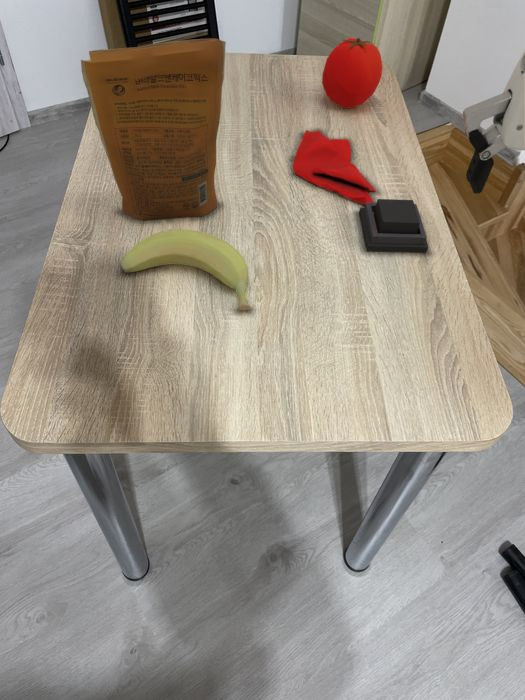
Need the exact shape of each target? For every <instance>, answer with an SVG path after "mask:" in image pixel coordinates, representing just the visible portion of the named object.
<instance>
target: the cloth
mask: <svg viewBox="0 0 525 700" xmlns="http://www.w3.org/2000/svg"><path fill="white" fill-rule="evenodd" d="M351 158H352V149H351V145H350V141H349V139H342V138H332V139H330V138H329V137H328V136H324V134H323V133H322V132H321V131H320V130H316V131H310V130H307V129H306V130H305V132H304V134H303V137H302V139H301V141H300V143H299V145H298V147H297V150H296V153H295V156H294V159H293V163H292V168H293V172H294V174H296V175H297V176H299V177H300V178H302V179H304V180H306V181H307V182H309V183H312V184H314V185H316V186H318V187H320V188H323V189H325V190H328V191H330V192H333V193H335V194H338V195H340V196H342V197H344V198H346V199H349V200H351V201H354V202H356V203H359V204H361V205H364V206H365V204H366V202H368V203H375V202H374V200H373V198H372V196H371V195H370V193H369V192H377V190H376V189H375V188H374V187H373V185H372V184H370V182H369V181H368V180H367V179H366V178H365V177H364V175H362V173H361V171H360V170H359V169H358V168H357V166H356V165H355V164H354V163H352V162H351ZM367 189H368V190H367Z"/></svg>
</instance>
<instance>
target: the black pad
mask: <svg viewBox="0 0 525 700" xmlns="http://www.w3.org/2000/svg"><path fill="white" fill-rule="evenodd" d="M376 203H377V204H376V208H375V211H374V218H375V222H376V227H377V231H378V233H386V234H416V233H417V230H418V227H419V224H420V221H419V218H418V215H417V212H416V208H415V205H414V204H415V201H414V199H396V198H395V199H388V198H377V200H376Z"/></svg>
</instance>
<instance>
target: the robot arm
mask: <svg viewBox="0 0 525 700" xmlns="http://www.w3.org/2000/svg"><path fill="white" fill-rule="evenodd" d="M462 117H463V123H464V128H465V130H464V131H465V134H466V137H467V139H468V141H469V143H470V144H471V146H472V147H473V149H474V152H473V155H472V157H471V160H470V163H469V165H468V167H467V170H466V173H465V178H466V180H467V182H468V183H469V185H470V188H471V189H472V193H473V194H476V195H477V194H481V193H482V192H483V191H484V188H485V186H486V183H487V181H488V178H489V176H490V174H491V172H492V169H493V167H494V165H495V161H494V159H493V157H494V156H495V155H497V154H498V153H500V152H501V151H503V150H504V149H505V148H509V149H511V150H516V151H525V50H524V51H523V52H522V53H521V55H520V58H519V59H518V61H517V63H516V64H515V67H514V69H513V71H512V73H511V74H510V77H509V79H508V81H507V83H506V85H505V87H504V90H503V92H502V93H500V94H497V95H495V96H492V97H490V98H487V99H485V100H482V101H479V102H478V103H475V104H472V105H470V106H467V107H466V108H464V109H463V111H462ZM489 118H492V123H493V124H491V125H490V126H489V127H487V128H486V129H485V130H484V131H482V130H481V124H482V122H483V121H485V120H487V119H489Z"/></svg>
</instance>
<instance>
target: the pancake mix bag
mask: <svg viewBox="0 0 525 700" xmlns="http://www.w3.org/2000/svg"><path fill="white" fill-rule="evenodd" d="M226 44H227V42H226V41H224V40H221V39H219V38H199V39H197V38H195V39H184V40H174V41H166V42H159V43H158V42H157V43H152V44H148V45H143V46H142V45H141V46H135V47H133V46H132V47H122V48H108V49H106V48H105V49H95V50H89V51H88V55H89V59H80V64H81V65H80V66H81V74H82V81H83V83H84V86H85V88H86V91H87V95H88V99H89V103H90V108H91V111H92V116H93V119H94V124H95V126H96V128H97V130H98V132H99V137H100V141H101V143H102V146H103V148H104V151H105V155H106V157H107V160H108V162H109V166H110V169H111V171H112V176H113V177H114V181H115V183H116V186H117V188H118V191H119V193H120V196H121V212H122V213H123V214H125V215H127V216H129V217H131V218H133V219H134V220H137V221H143V222H144V221H156V220H168V219H169V220H171V219H179V218H180V219H181V218H182V219H183V218H198V217H199V218H201V217H205V216H206V215H209V214H210V213H211V212H213V211H214V210H216V208H217V207H218V206H219V201H218V197H217V193H216V185H215V173H216V172H215V171H216V167H217V138H218V134H219V127H220V122H221V112H222V96H223V94H222V93H223V85H224V80H225V66H226V65H225V64H226Z"/></svg>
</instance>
